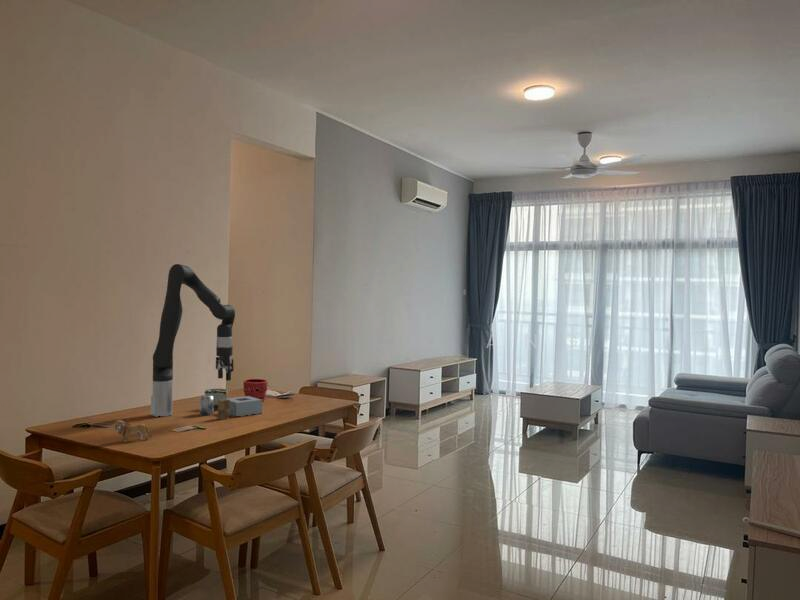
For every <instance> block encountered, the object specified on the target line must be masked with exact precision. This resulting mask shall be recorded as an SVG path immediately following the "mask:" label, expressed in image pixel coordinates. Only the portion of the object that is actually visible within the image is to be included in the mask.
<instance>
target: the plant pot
mask: <svg viewBox="0 0 800 600" xmlns="http://www.w3.org/2000/svg"><path fill="white" fill-rule="evenodd" d="M267 389H268V380H266V379H265V378H264V379H263V378H261V379H260V378H249V379H244V380H243V393H244V397H245V396H250V397H254V398H257V399H261V400H262V402H264V401H265V400H266V397H265V396H266V393H267V391H268V390H267Z"/></svg>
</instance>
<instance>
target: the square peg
mask: <svg viewBox="0 0 800 600" xmlns="http://www.w3.org/2000/svg"><path fill="white" fill-rule="evenodd" d="M217 411H218V412H217V419H219V418H220V419H219V420H221V419H223V420H228V419H227V418H230V417H231V415H230V400H228V398H226V399H221V400H218V409H217ZM230 419H231V418H230Z"/></svg>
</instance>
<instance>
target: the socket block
mask: <svg viewBox="0 0 800 600" xmlns="http://www.w3.org/2000/svg"><path fill="white" fill-rule="evenodd" d="M227 399H228V400H230V416H232V415H233V416H232V417H234V416H236V417H235V418H238V417H237V416H241V417H246V416H245V415H248V416H253V415H252V414H256V415H260V414H259V413H262V414H263V401H262V400H261V399H257V398H254V397H250V396H245V395H244V396H238V397H230V398H227Z"/></svg>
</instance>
